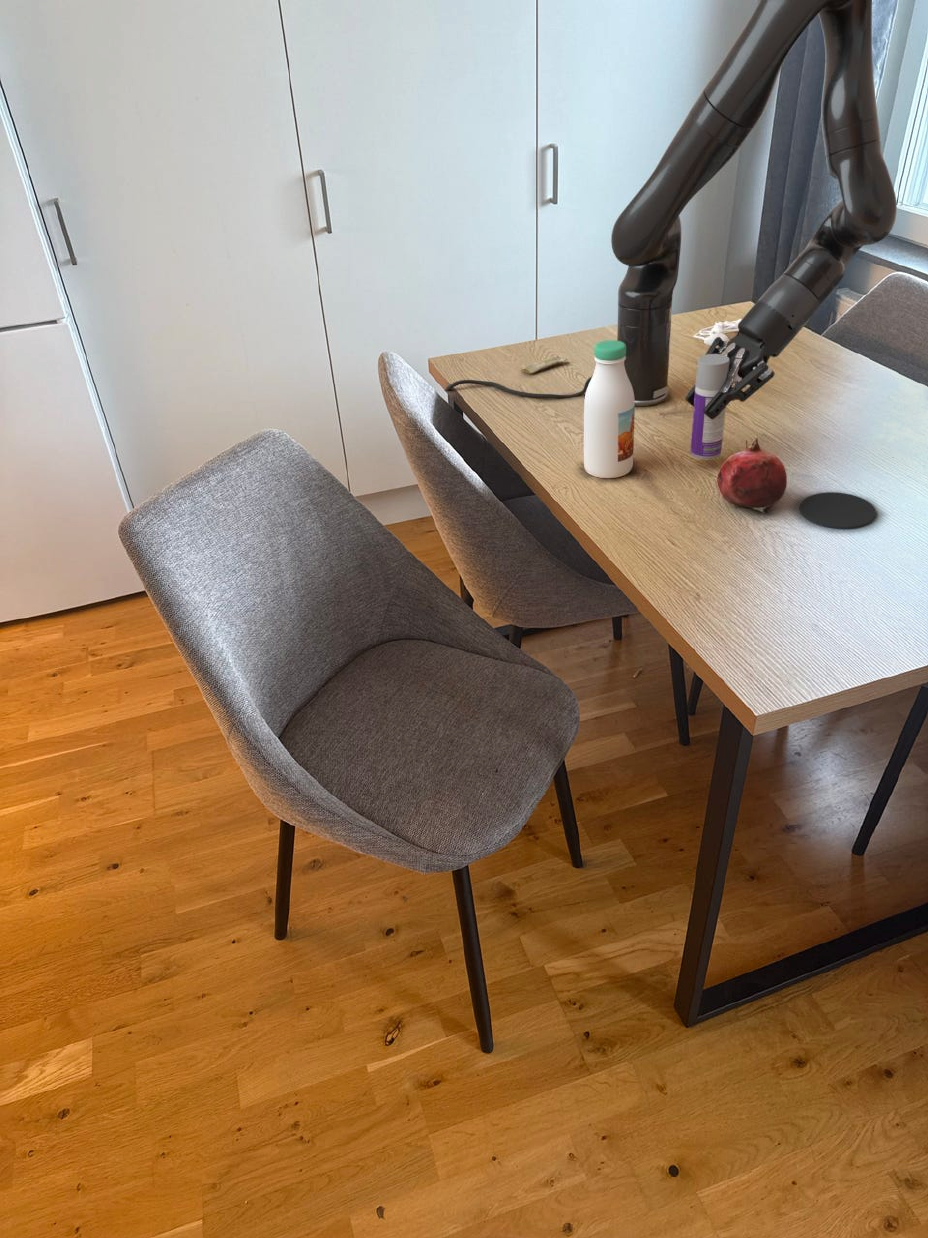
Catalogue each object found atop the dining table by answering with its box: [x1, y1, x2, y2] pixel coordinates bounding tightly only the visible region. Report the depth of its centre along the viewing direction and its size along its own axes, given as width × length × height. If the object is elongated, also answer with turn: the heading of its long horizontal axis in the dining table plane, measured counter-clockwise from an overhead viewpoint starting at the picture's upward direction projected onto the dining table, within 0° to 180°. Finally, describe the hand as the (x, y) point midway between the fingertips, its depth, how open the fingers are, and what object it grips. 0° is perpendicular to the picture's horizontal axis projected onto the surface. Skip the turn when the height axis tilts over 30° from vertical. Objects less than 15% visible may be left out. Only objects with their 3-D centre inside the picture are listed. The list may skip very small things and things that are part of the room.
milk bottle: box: [583, 339, 636, 479], centre depth 138 cm, size 8×8×20 cm
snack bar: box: [521, 355, 568, 374], centre depth 183 cm, size 10×2×3 cm
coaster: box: [799, 491, 877, 530], centre depth 128 cm, size 10×10×1 cm
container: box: [689, 354, 729, 460], centre depth 137 cm, size 5×5×15 cm
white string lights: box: [693, 318, 743, 348], centre depth 187 cm, size 19×14×4 cm
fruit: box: [716, 437, 788, 514], centre depth 129 cm, size 9×10×10 cm
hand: (698, 408), depth 137 cm, fingers closed on container, 4 cm apart
